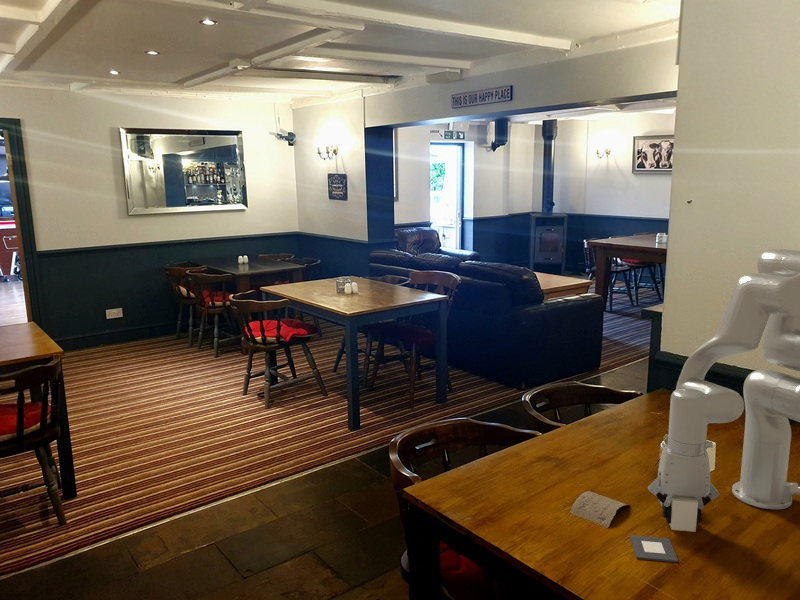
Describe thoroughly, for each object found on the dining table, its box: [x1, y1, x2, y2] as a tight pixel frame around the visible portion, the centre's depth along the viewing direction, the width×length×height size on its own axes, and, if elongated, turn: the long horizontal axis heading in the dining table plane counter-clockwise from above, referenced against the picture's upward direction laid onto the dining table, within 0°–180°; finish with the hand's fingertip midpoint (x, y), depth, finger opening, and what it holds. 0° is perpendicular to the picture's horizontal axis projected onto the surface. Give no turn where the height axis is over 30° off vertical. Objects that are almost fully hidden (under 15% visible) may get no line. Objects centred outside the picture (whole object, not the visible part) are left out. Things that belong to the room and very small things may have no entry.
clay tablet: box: [569, 490, 628, 529], centre depth 146 cm, size 14×10×3 cm
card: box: [629, 534, 679, 563], centre depth 130 cm, size 8×8×1 cm
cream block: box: [668, 495, 698, 532], centre depth 138 cm, size 5×5×7 cm
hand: (681, 520), depth 139 cm, fingers closed on cream block, 5 cm apart
